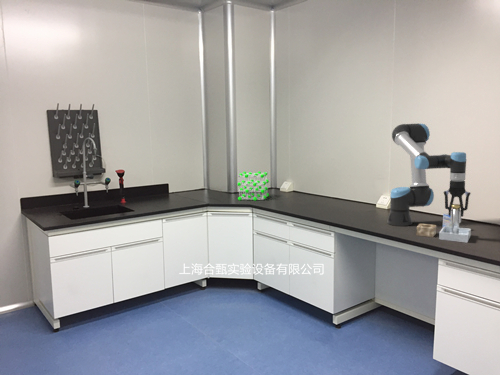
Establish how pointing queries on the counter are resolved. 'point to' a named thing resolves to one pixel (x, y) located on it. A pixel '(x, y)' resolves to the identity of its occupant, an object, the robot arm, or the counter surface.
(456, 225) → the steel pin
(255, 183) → the molecular structure model
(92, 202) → the counter surface
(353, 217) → the counter surface
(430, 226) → the holder block
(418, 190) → the robot arm
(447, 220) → the medicine box
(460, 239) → the tray
